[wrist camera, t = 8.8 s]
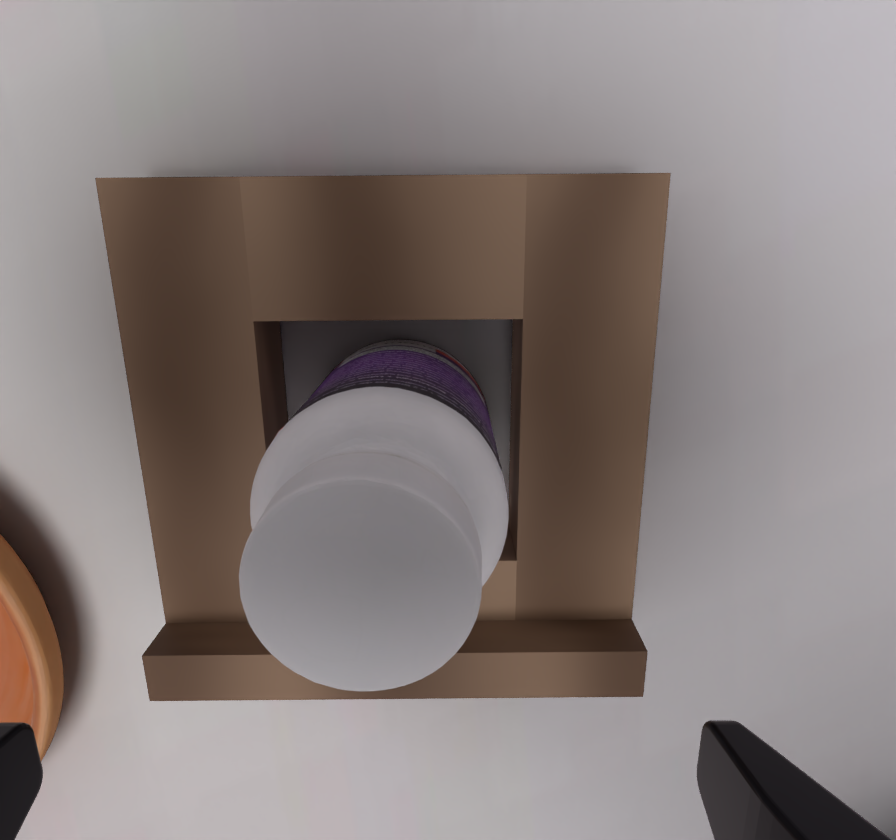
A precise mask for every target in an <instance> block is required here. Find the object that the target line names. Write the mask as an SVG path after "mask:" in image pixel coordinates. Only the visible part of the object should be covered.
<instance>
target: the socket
mask: <svg viewBox="0 0 896 840" xmlns="http://www.w3.org/2000/svg"><path fill="white" fill-rule="evenodd" d="M670 174H671V173H615V174H498V175H381V176H264V177H146V178H95V179H96V185H97V192H98V198H99V204H100V211H101V217H102V223H103V229H104V236H105V242H106V248H107V255H108V261H109V267H110V274H111V280H112V286H113V292H114V299H115V305H116V311H117V318H118V324H119V330H120V337H121V343H122V349H123V355H124V362H125V368H126V374H127V381H128V387H129V393H130V400H131V406H132V412H133V418H134V425H135V431H136V437H137V444H138V450H139V456H140V463H141V469H142V475H143V482H144V488H145V494H146V500H147V507H148V513H149V519H150V526H151V532H152V538H153V545H154V551H155V557H156V563H157V570H158V576H159V582H160V589H161V595H162V601H163V608H164V614H165V620H166V624H165V625H164V627H163V628H162V629H161V631H160V632H159V634H158V635H157V636H156V638H155V639H154V640H153V642H152V643H151V644H150V646H149V647H148V648H147V650H146V651H145V652H144V654H143V655H142V659H143V665H144V670H145V676H146V682H147V688H148V693H149V699H150V701H198V700H311V699H425V698H538V697H643V692H644V682H645V671H646V661H647V650H646V648H645V646H644V643H643V641H642V639H641V637H640V635H639V633H638V631H637V629H636V627H635V625H634V623H633V621H632V608H633V597H634V586H635V574H636V563H637V551H638V540H639V528H640V517H641V505H642V494H643V483H644V471H645V460H646V448H647V437H648V425H649V414H650V403H651V391H652V380H653V368H654V357H655V345H656V334H657V322H658V311H659V300H660V288H661V277H662V265H663V254H664V242H665V231H666V220H667V208H668V197H669V185H670ZM468 319H513V326H512V373H511V420H510V467H509V519H508V529H507V536H506V540H505V544H504V547H503V551H502V554H501V556H500V559H499V561H498V563H497V565H496V567H495V569H494V570H493V572H492V574H491V575H490V577H489V579H488V580H487V582H486V583H485V584H484V585H483V587H482V593H481V602H480V608H479V612H478V616H477V619H476V621H475V623H474V626H473V628H472V630H471V632H470V634H469V636H468V637H467V639H466V641H465V642H464V644H463V645H462V646H461V648H460V649H459V650H458V651H457V653H456V654H455V655H454V656H453V657H452V658H451V659H450V660H448V661H447V662H446V663H445V664H444V665H443V666H442V667H440V668H439V669H438V670H436V671H435V672H433V673H432V674H430V675H428V676H426V677H424V678H423V679H421V680H418V681H416V682H413V683H410V684H408V685H405V686H401V687H397V688H392V689H387V690H380V691H348V690H341V689H336V688H333V687H329V686H325V685H322V684H318V683H315V682H313V681H311V680H309V679H307V678H305V677H303V676H301V675H299V674H297V673H295V672H294V671H292V670H291V669H289V668H288V667H286V666H285V665H283V664H282V663H281V662H280V661H279V660H278V659H276V658H275V657H274V656H273V655H272V654H271V653H270V652H269V651H268V650H267V649H266V648H265V647H264V645H263V644H262V643H261V641H260V640H259V639H258V637H257V636H256V634H255V633H254V631H253V630H252V628H251V626H250V624H249V622H248V620H247V617H246V614H245V611H244V608H243V605H242V601H241V597H240V586H239V569H240V563H241V558H242V554H243V551H244V548H245V545H246V542H247V540H248V538H249V536H250V533H251V532H252V527H251V519H250V498H251V491H252V485H253V481H254V478H255V475H256V472H257V469H258V466H259V464H260V462H261V459H262V458H263V456H264V454H265V452H266V450H267V449H268V447H269V446H270V444H271V443H272V441H273V440H274V438H275V436H276V435H277V433H278V431H279V430H280V429H281V428H282V427H284V425H285V424H286V423H287V422H288V414H287V402H286V390H285V379H284V367H283V355H282V343H281V332H280V321H352V320H468Z"/></svg>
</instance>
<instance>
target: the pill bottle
mask: <svg viewBox="0 0 896 840" xmlns="http://www.w3.org/2000/svg"><path fill="white" fill-rule="evenodd" d="M250 519H251V527H252V532H251V533H250V536H249V538H248V540H247V542H246V545H245V548H244V551H243V554H242V558H241V563H240V569H239V586H240V597H241V601H242V605H243V608H244V611H245V614H246V617H247V620H248V622H249V624H250V626H251V628H252V630H253V631H254V633H255V634H256V636H257V637H258V639H259V640H260V641H261V643H262V644H263V645H264V647H265V648H266V649H267V650H268V651H269V652H270V653H271V654H272V655H273V656H274V657H275V658H276V659H278V660H279V661H280V662H281V663H282V664H283V665H285V666H286V667H288V668H289V669H291V670H292V671H294V672H295V673H297V674H299V675H301V676H303V677H305V678H307V679H309V680H311V681H313V682H315V683H318V684H322V685H325V686H329V687H333V688H336V689H341V690H348V691H380V690H387V689H392V688H397V687H401V686H405V685H408V684H410V683H413V682H416V681H418V680H421V679H423V678H424V677H426V676H428V675H430V674H432V673H433V672H435V671H436V670H438V669H439V668H440V667H442V666H443V665H444V664H445V663H446V662H447V661H448V660H450V659H451V658H452V657H453V656H454V655H455V654H456V653H457V651H458V650H459V649H460V648H461V646H462V645H463V644H464V642H465V641H466V639H467V637H468V636H469V634H470V632H471V630H472V628H473V626H474V623H475V621H476V619H477V616H478V612H479V608H480V602H481V593H482V587H483V585H484V584H485V583H486V582H487V580H488V579H489V577H490V575H491V574H492V572H493V570H494V569H495V567H496V565H497V563H498V561H499V559H500V556H501V554H502V551H503V547H504V544H505V540H506V536H507V529H508V519H509V506H508V499H507V492H506V487H505V482H504V477H503V473H502V468H501V465H500V460H499V456H498V452H497V448H496V443H495V439H494V435H493V430H492V426H491V421H490V417H489V413H488V409H487V405H486V402H485V399H484V396H483V394H482V392H481V390H480V388H479V386H478V384H477V382H476V381H475V379H474V378H473V376H472V375H471V373H470V372H469V371H468V370H467V369H466V368H465V367H464V366H463V365H462V364H461V363H460V362H459V361H458V360H457V359H455V358H454V357H453V356H451V355H450V354H448V353H447V352H445V351H443V350H441V349H439V348H437V347H435V346H432V345H430V344H426V343H423V342H418V341H413V340H388V341H383V342H378V343H375V344H372V345H369V346H366V347H364V348H362V349H360V350H358V351H356V352H355V353H353V354H352V355H350V356H349V357H347V358H346V359H345V360H343V361H342V362H341V363H340V364H339V365H338V366H337V367H335V369H334V370H333V371H332V372H331V373H330V374H329V375H328V376H327V377H326V379H325V380H324V381H323V382H322V384H321V385H320V386H319V387H318V388H317V390H316V391H315V392H314V393H313V394H312V396H311V397H310V398H309V399H308V400H307V401H306V402H305V403H304V405H303V406H302V407H301V408H300V409H299V410H298V411H297V412H296V414H295V415H294V416H293V417H292V418H291V419H290V420H289V421H288V422H287V423H286V424H285V425H284V427H282V428H281V429H280V430H279V431H278V433H277V435H276V436H275V438H274V440H273V441H272V443H271V444H270V446H269V447H268V449H267V450H266V452H265V454H264V456H263V458H262V459H261V462H260V464H259V466H258V469H257V472H256V475H255V478H254V481H253V485H252V491H251V498H250Z"/></svg>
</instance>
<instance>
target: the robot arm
mask: <svg viewBox="0 0 896 840" xmlns="http://www.w3.org/2000/svg"><path fill="white" fill-rule="evenodd" d="M42 778H43V769H42V764H41V760H40V756H39V752H38V747H37V743H36V739H35V734H34V731H33V728H32V727H31V726H30V725H29V724H27V723H24V722H1V723H0V840H15V838H16V836H17V834H18V832H19V830H20V828H21V826H22V824H23V822H24V820H25V818H26V816H27V814H28V812H29V810H30V808H31V806H32V804H33V802H34V800H35V798H36V796H37V794H38V792H39V790H40V787H41V783H42ZM697 781H698V786H699V790H700V794H701V797H702V800H703V803H704V807H705V810H706V813H707V816H708V820H709V823H710V826H711V829H712V832H713V836H714V839H715V840H891V839H890V838H889V837H887V836H886V835H885V834H884V833H882V832H881V831H880V830H878V829H877V828H876V827H874V826H873V825H872V824H871V823H869V822H868V821H867V820H865V819H864V818H863V817H861V816H860V815H859V814H858V813H856V812H855V811H854V810H852V809H851V808H850V807H848V806H847V805H846V804H845V803H843V802H842V801H841V800H839V799H838V798H837V797H835V796H834V795H833V794H832V793H830V792H829V791H828V790H826V789H825V788H824V787H822V786H821V785H820V784H819V783H817V782H816V781H815V780H813V779H812V778H811V777H809V776H808V775H807V774H806V773H804V772H803V771H802V770H800V769H799V768H798V767H796V766H795V765H794V764H793V763H791V762H790V761H789V760H787V759H786V758H785V757H783V756H782V755H781V754H780V753H778V752H777V751H776V750H774V749H773V748H772V747H770V746H769V745H768V744H767V743H765V742H764V741H763V740H761V739H760V738H759V737H757V736H756V735H755V734H754V733H752V732H751V731H750V730H748V729H747V728H746V727H744V726H743V725H742V724H740V723H738V722H736V721H708V722H706V723H705V724H704V726H703V729H702V734H701V742H700V749H699V757H698V764H697Z"/></svg>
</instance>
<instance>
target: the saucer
mask: <svg viewBox="0 0 896 840" xmlns="http://www.w3.org/2000/svg"><path fill="white" fill-rule="evenodd" d="M63 692H64V678H63V663H62V657H61V651H60V646H59V642H58V638H57V634H56V631H55V628H54V625H53V622H52V620H51V617H50V614H49V612H48V609H47V607H46V604H45V602H44V599H43V597H42V595H41V593H40V591H39V588H38V587H37V585H36V583H35V581H34V579H33V578H32V576H31V574H30V573H29V571H28V569H27V568H26V566H25V565H24V563H23V562H22V561H21V559H20V558H19V557H18V555H17V554H16V552H15V551H14V550H13V548H12V547H11V546H10V545H9V544H8V543H7V541H6V540H5V539H4V538H3V537H2V535H1V534H0V723H1V722H24V723H27V724H29V725H30V726H31V727H32V728H33V731H34V734H35V739H36V743H37V747H38V752H39V756H40V760H41V761H42V759H43V757H44V755H45V753H46V751H47V750H48V748H49V746H50V743H51V741H52V739H53V737H54V734H55V731H56V728H57V725H58V721H59V717H60V713H61V708H62V700H63Z"/></svg>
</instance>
